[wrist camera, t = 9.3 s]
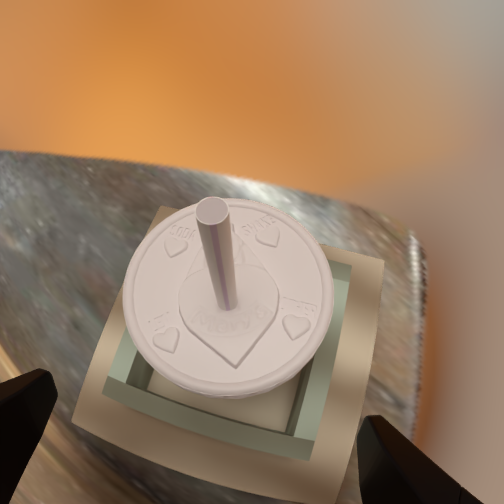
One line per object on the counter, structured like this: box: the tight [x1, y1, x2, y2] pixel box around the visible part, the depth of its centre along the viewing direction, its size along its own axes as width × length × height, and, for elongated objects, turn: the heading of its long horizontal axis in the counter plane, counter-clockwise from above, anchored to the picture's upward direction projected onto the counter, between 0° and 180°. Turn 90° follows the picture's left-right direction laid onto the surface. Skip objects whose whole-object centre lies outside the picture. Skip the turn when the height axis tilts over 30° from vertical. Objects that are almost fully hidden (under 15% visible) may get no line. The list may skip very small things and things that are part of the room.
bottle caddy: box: [71, 206, 384, 504], centre depth 17 cm, size 16×16×4 cm
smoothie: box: [123, 197, 334, 399], centre depth 12 cm, size 6×6×14 cm
